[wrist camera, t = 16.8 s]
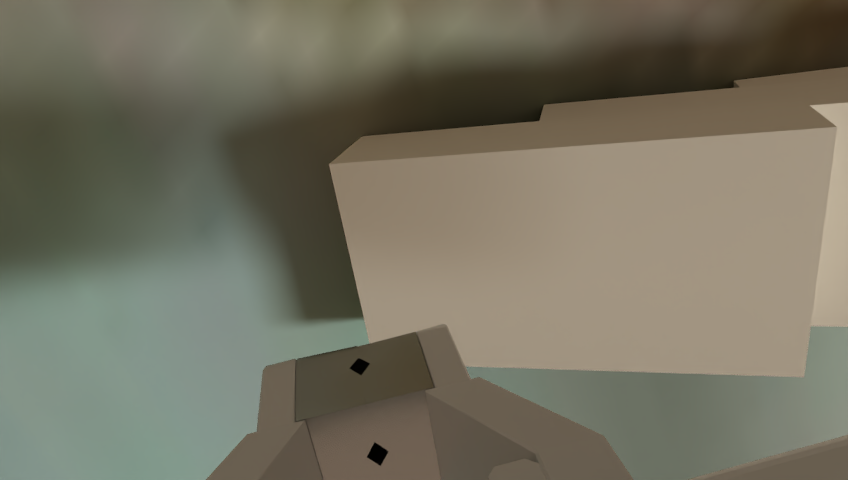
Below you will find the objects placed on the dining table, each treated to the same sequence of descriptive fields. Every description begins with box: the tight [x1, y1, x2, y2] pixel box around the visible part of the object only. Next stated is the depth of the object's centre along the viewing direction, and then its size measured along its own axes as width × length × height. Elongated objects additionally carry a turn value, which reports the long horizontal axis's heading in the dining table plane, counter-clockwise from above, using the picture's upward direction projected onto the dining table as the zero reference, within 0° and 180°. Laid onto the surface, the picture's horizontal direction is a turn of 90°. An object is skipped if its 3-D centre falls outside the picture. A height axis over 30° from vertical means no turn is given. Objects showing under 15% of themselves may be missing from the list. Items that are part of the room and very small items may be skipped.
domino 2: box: [539, 78, 848, 327], centre depth 14 cm, size 2×5×9 cm
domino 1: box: [329, 98, 837, 377], centre depth 13 cm, size 2×5×9 cm
